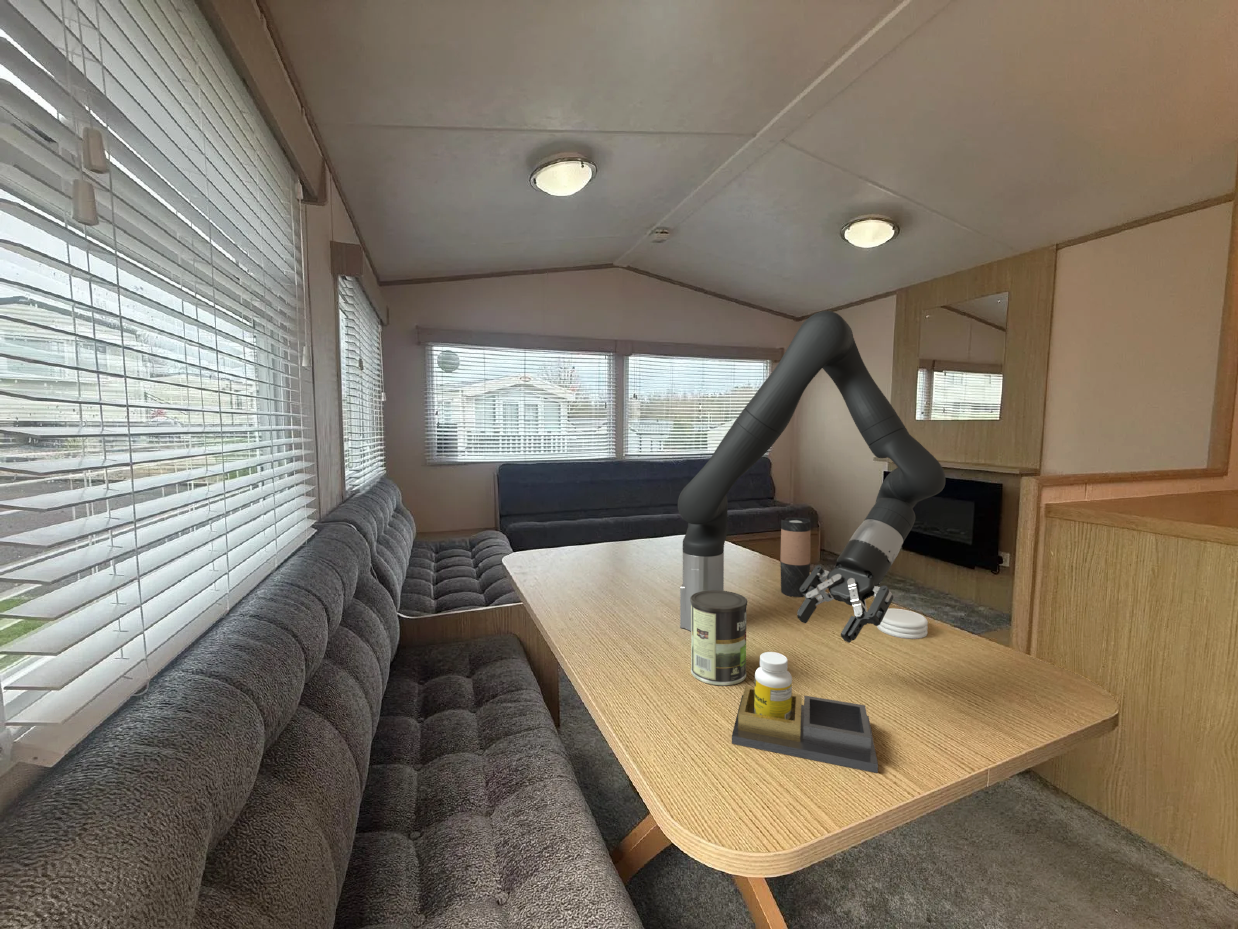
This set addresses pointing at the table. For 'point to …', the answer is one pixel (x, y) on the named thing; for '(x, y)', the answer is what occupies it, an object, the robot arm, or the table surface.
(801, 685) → the table surface
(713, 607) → the coffee can
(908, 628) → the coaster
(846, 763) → the two compartment tray
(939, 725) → the table surface
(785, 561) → the travel mug
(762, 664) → the supplement bottle
